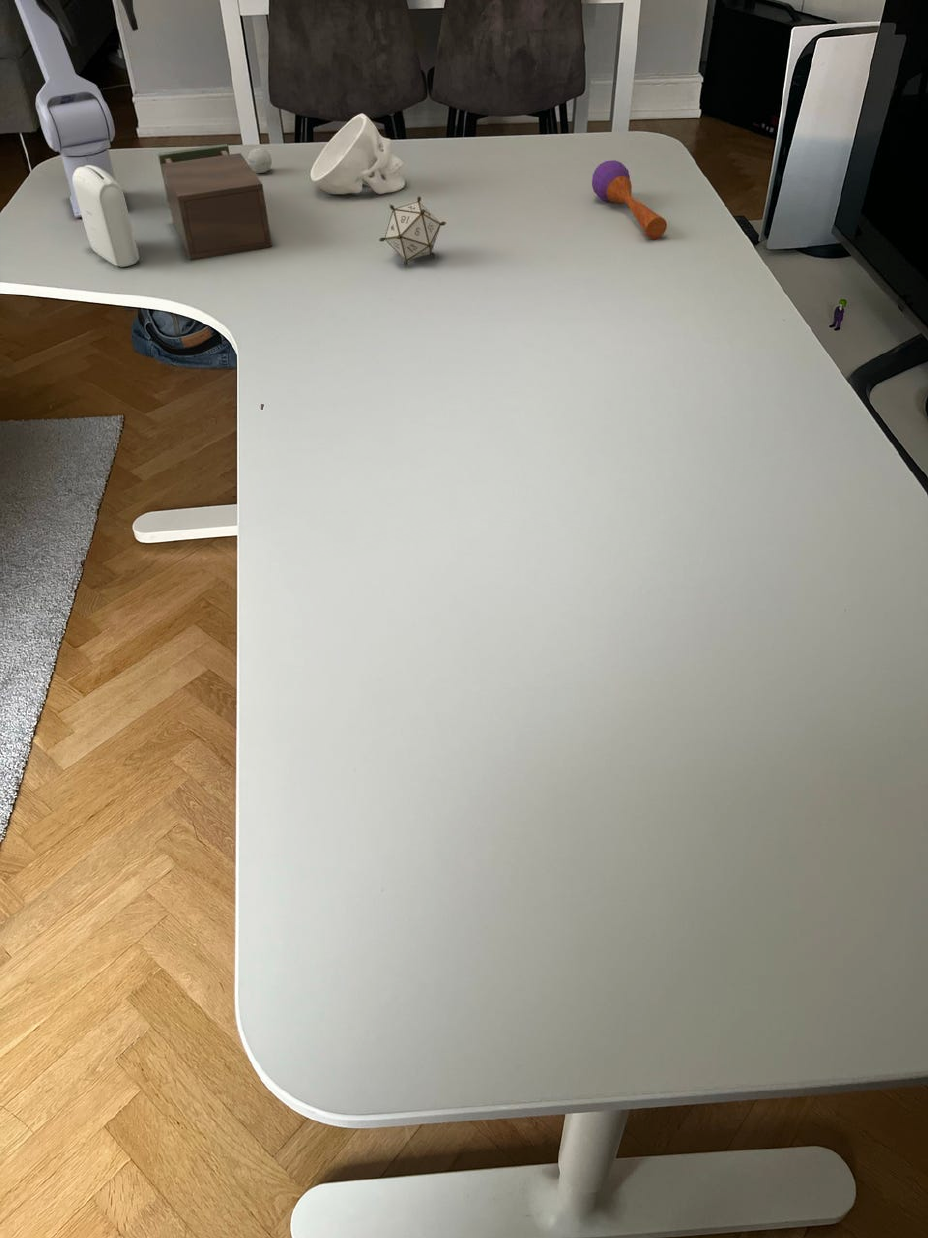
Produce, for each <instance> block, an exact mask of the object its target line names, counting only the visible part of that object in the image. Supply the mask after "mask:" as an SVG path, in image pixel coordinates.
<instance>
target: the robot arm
mask: <svg viewBox="0 0 928 1238" xmlns="http://www.w3.org/2000/svg"><path fill="white" fill-rule="evenodd" d="M120 2H121V4H122V6H123V8H124V11H125V14H126V17H127V21H128V23H129V26H130V29H131V30H132V32H135V31H138V30H139V25H138V21H137V18H136V15H135V11H134V10H135V9H134V0H120ZM14 3H15V5H16V7H17V10H18V13H19V16H20V18H21V21H22V24H23V26H24V29H25V31H26V34H27V37H28V39H29V42H30V44H31V46H32V49H33V52H34V55H35V57H36V60H37V64H38V65H39V68H40V71H41V73H42V76H43V79H44V81H45V83H44V84H43V85H42V87H41V89H40V90H39V91H38V92H37V94H36V97H35V109H36V112H37V115H38V118H39V123H40V126H41V127H40V128H41V130H42V133H43V136H44V138H45V141H46V143H47V145H48V146H49V148H50V149H52V150H53V151H54V152H56V153H57V152H58V153H59V154H60V158H61V161H62V165H63V168H64V172H65V176H66V179H67V183H68V187H69V190H70V194H71V195H69V200H70V204H71V208H72V210H73V214H74V217H75V218H77V219H78V218H82V215H81V211H80V208H79V204H78V201H77V197H76V193H75V190H74V186H73V181H72V179H73V174H74V172H75V170H76V169H77V168H79V167H84V166H86V165H92V166H96V167H98V168H100V169H102V170H104V171H105V172H107V173H108V174H109V175H110V176H111V177H112V178H113V179H114V180H115V181H116V182H117V179H116V175H115V171H114V166H113V163H112V158H111V154H110V151H109V149H110V148H111V147H112V146H111V142H113V141H114V138H115V136H116V130H115V124H114V123H115V122H114V120H113V116H112V114H111V113H112V112H111V110H110V108H109V106H108V104H107V102H106V101H105V100H104V97H103V95H102V92H101V90H100V89H99V88H98V86H97V84H95V83H93V82H91V81H89V80H87V79H85V78H84V77H81V76H79V75H78V74H76V71H75V69H74V65H73V63H72V61H71V57H70V55H69V52H68V50H67V46H66V45H65V41H64V40H63V36H62V34H61V32H62V33H63V34H64V36H65V38H67V40H68V42H69V43H70V45H71V47H72V48H77V47H78V46H79V44H78V40H77V37H76V35H75V32H74V29H73V27H72V25H71V23H70V21H69V19H68V17H67V14H66V13H65V11H64V8H63V7H62V5H61V2H60V0H14ZM60 30H61V31H60Z"/></svg>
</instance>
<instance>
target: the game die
mask: <svg viewBox="0 0 928 1238" xmlns="http://www.w3.org/2000/svg"><path fill="white" fill-rule="evenodd" d="M416 200H417V201H416V202H412V203H409V204H405V205H402V206H399V207H395V206H394V205H393V204H390V203H389V209H390V210H391V213H390V214H391V215H390V218H389V221H388V224H387V228H386V231H385V235H384V237H383V236H382V237H380V238H379V239H378V241H379V242H381V243H382V242H384V241H385V242H386V243H387V244H388V245H389V246H390V247H391V248H392V249H393V250H394V251H396V253H397V254H398V255H399V256H400V257H401V258H402V259H403V260H404V261H403V262H404V263H403V265H404V267H405V268H406V267H407V266H408V265H409V262H410V261H411V260H414V259H415V260H416V259H418V258H420V257H424V256H428V255H430V257H432V258H435V253H434V252H433V250H434V246H435V243H436V240H437V237H438V234H439V231H440V229H441V226H445V225H446V224H447V221H445V220H444V221H441V222H440V221H439V220H438V219H437V218H436V217H435V215H433V214H432V213H431V212H430V211H429V210H428V209H427V208H426V207H425V206H424V205H423V204H422V203H421V201H422V197H421V195H419V196H418V197H417V199H416ZM408 261H409V262H408Z"/></svg>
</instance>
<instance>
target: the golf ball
mask: <svg viewBox="0 0 928 1238" xmlns="http://www.w3.org/2000/svg"><path fill="white" fill-rule="evenodd" d="M272 162H273V159H272V156H271V154H270V152H269V150H267V149H265V148H263V147H255V148H253V149H251V150H250V152H248V156H247V163H248V164H249V166H250V167H251V169H252V170H253V172H254V173H258V174H265V173H266V172H268V171H269V170H270V168H271V167H272Z"/></svg>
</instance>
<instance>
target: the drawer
mask: <svg viewBox="0 0 928 1238" xmlns="http://www.w3.org/2000/svg"><path fill="white" fill-rule="evenodd" d="M230 154H231V153H230V149H229V145H228V144H227V143H223V144H215V145H209V146H202V147H201V146H200V147H193V148H187V149H186V148H185V149H180V150H179V149H178V150H171V151H165V152H164V151H163V152H157V156H158V161H159V166H160V170H161V176H162V180H163V185H164V189H165V194H166V197H167V202H168V203H169V200H168V195H167V191H166V186H165V181H164V177H163V172H162V167H161V164H166V163H173V162H180V161H187V160H194V159H201V158H209V157H216V156H223V155H230Z"/></svg>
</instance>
